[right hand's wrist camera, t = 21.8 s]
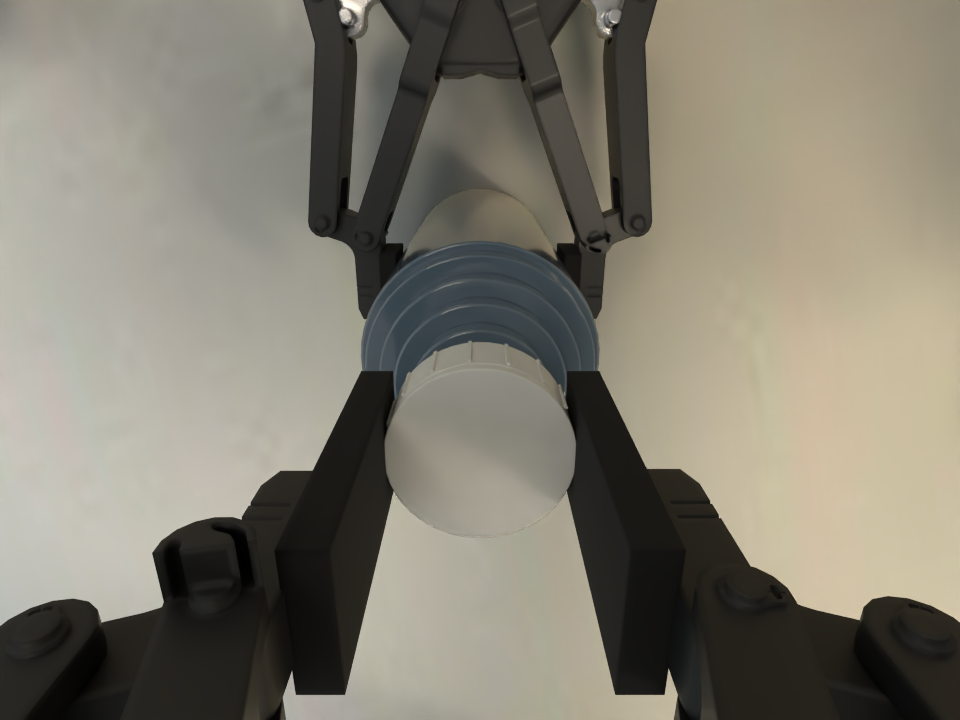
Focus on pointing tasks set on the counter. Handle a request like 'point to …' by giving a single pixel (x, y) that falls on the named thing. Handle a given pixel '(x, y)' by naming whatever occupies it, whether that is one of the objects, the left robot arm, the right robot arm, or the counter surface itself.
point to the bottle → (480, 292)
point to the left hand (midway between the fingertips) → (480, 379)
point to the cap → (480, 441)
